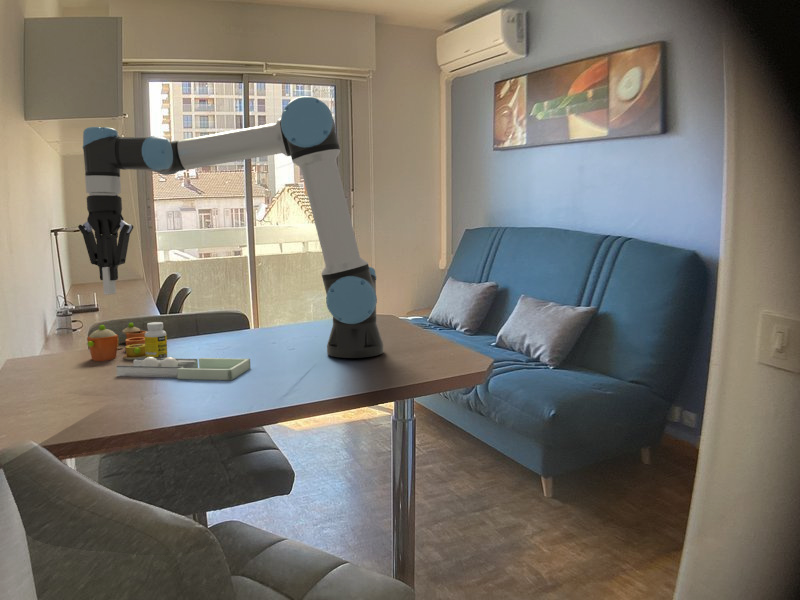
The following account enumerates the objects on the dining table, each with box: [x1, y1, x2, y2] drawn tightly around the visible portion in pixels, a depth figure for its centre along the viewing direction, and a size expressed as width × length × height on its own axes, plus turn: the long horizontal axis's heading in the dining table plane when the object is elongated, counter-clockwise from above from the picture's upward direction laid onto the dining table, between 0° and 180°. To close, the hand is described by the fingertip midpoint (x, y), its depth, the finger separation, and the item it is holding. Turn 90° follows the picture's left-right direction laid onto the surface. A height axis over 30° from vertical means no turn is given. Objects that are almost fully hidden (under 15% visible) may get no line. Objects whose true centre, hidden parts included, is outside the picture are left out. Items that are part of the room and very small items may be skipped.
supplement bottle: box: [145, 321, 168, 358], centre depth 168 cm, size 5×5×10 cm
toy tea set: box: [86, 322, 148, 362], centre depth 177 cm, size 26×16×10 cm, turn 21°
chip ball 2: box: [161, 356, 178, 367], centre depth 153 cm, size 4×4×4 cm
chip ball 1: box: [142, 357, 159, 366], centre depth 153 cm, size 4×4×4 cm
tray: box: [177, 357, 251, 381], centre depth 151 cm, size 13×12×2 cm
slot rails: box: [116, 358, 199, 379], centre depth 153 cm, size 16×9×2 cm, turn 82°
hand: (110, 293), depth 152 cm, fingers closed
